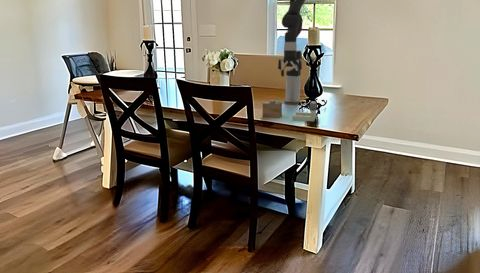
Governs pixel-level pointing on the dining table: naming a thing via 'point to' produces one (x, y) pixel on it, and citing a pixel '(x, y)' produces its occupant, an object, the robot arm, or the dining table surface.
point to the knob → (313, 105)
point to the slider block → (272, 109)
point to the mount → (305, 116)
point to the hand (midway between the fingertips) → (289, 76)
